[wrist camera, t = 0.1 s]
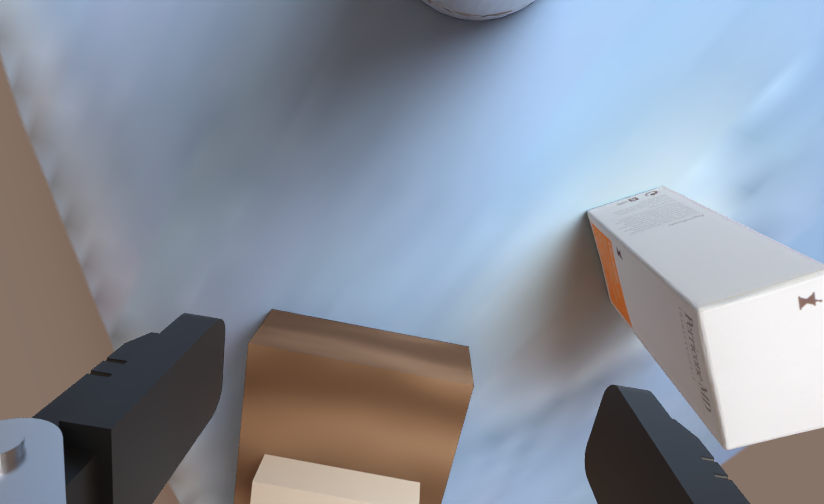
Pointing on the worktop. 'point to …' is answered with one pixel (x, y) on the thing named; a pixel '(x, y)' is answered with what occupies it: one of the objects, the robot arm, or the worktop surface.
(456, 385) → the brown flat block
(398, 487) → the cream rectangular block
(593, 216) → the skincare box
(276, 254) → the worktop surface
